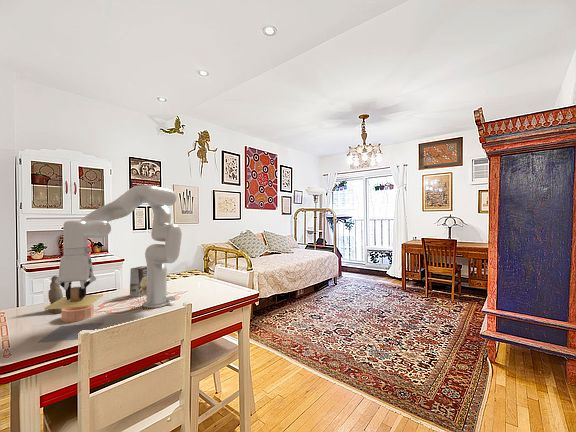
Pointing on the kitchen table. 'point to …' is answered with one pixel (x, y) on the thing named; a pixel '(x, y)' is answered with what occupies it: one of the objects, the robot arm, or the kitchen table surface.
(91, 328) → the mat
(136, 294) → the coffee box
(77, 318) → the bowl
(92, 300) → the sheet
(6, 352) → the kitchen table surface
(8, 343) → the kitchen table surface
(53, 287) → the worn brown figurine
